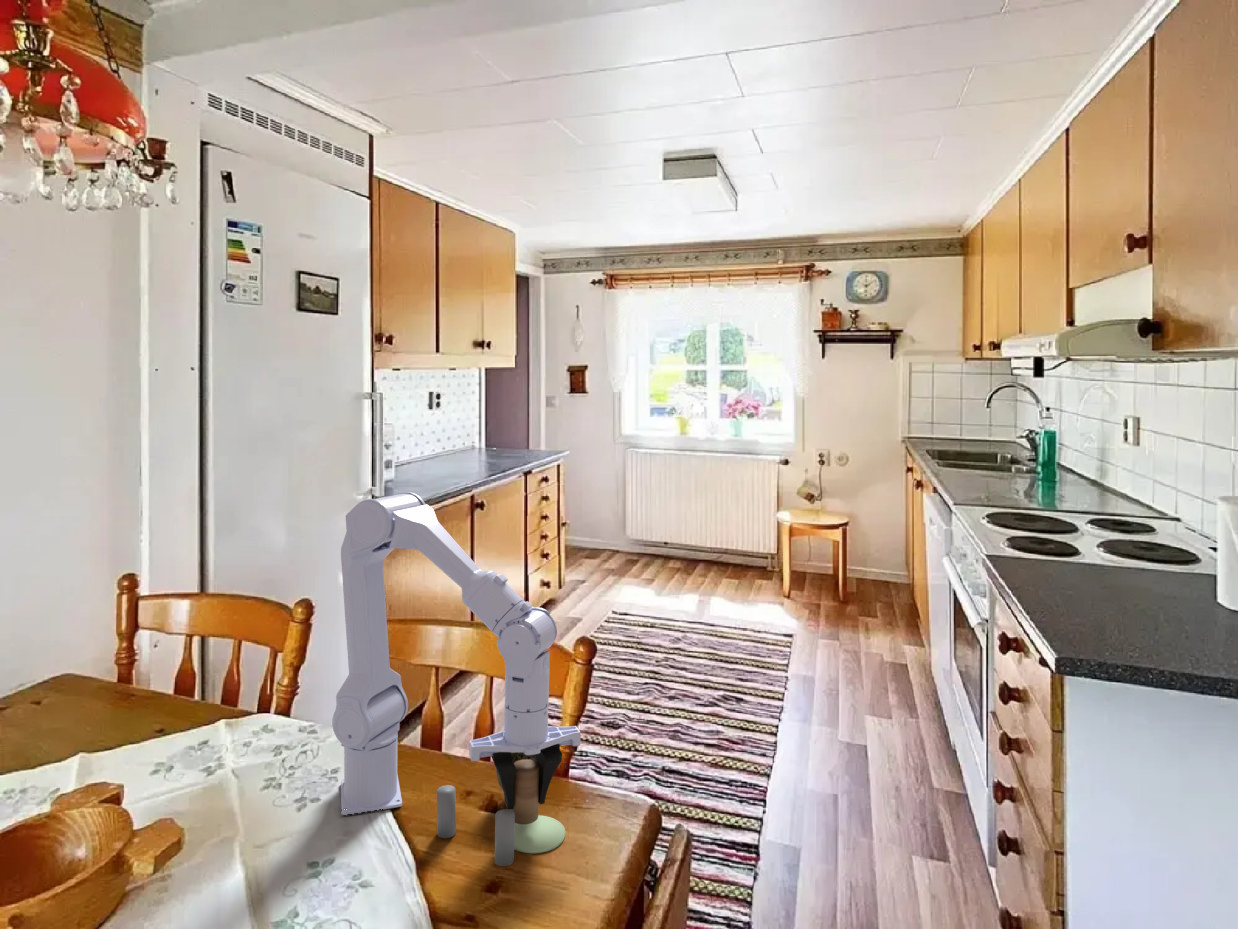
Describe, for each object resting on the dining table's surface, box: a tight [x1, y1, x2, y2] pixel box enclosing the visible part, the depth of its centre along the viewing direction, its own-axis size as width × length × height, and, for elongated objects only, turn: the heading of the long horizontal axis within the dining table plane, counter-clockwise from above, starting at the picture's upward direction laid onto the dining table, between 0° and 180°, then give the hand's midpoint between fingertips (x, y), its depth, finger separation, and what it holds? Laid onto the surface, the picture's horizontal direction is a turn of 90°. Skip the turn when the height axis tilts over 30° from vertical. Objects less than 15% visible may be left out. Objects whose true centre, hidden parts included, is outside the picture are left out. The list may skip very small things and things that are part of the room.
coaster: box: [514, 814, 566, 854], centre depth 99 cm, size 8×8×1 cm
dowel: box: [510, 759, 539, 824], centre depth 98 cm, size 4×4×7 cm
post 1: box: [436, 784, 457, 839], centre depth 98 cm, size 2×2×6 cm
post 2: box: [494, 808, 515, 867], centre depth 93 cm, size 2×2×6 cm
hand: (524, 803), depth 99 cm, fingers closed on dowel, 4 cm apart
